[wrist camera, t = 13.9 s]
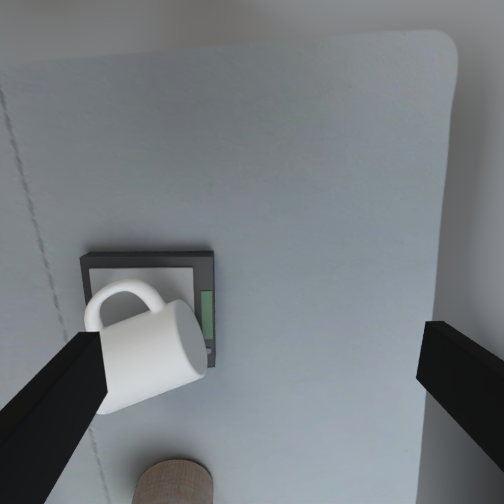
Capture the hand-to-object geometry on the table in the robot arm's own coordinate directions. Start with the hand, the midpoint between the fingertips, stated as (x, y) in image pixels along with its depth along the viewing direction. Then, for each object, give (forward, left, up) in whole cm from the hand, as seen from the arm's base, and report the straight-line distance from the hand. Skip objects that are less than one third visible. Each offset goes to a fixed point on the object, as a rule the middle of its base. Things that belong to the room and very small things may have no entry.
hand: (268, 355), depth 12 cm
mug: (+10, +8, -20) cm, 24 cm away
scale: (+10, +8, -23) cm, 26 cm away
